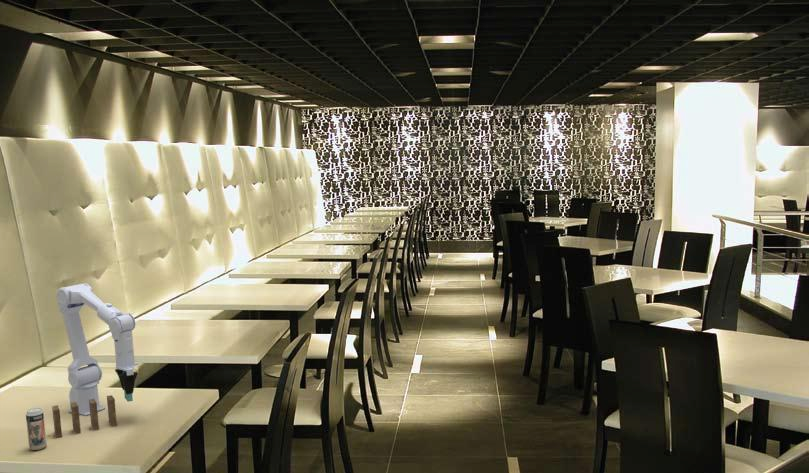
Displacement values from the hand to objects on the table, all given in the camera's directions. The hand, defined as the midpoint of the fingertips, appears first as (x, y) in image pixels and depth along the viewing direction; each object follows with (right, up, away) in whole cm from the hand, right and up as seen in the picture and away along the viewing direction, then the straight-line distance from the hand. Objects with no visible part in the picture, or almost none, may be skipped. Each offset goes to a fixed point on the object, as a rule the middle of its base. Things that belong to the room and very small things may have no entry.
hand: (127, 391), depth 258 cm
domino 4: (-4, -10, -2) cm, 11 cm away
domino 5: (0, -3, 0) cm, 3 cm away
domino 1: (-19, -12, -10) cm, 24 cm away
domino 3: (-9, -11, -4) cm, 15 cm away
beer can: (-20, -13, -20) cm, 32 cm away
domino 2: (-14, -11, -7) cm, 19 cm away
